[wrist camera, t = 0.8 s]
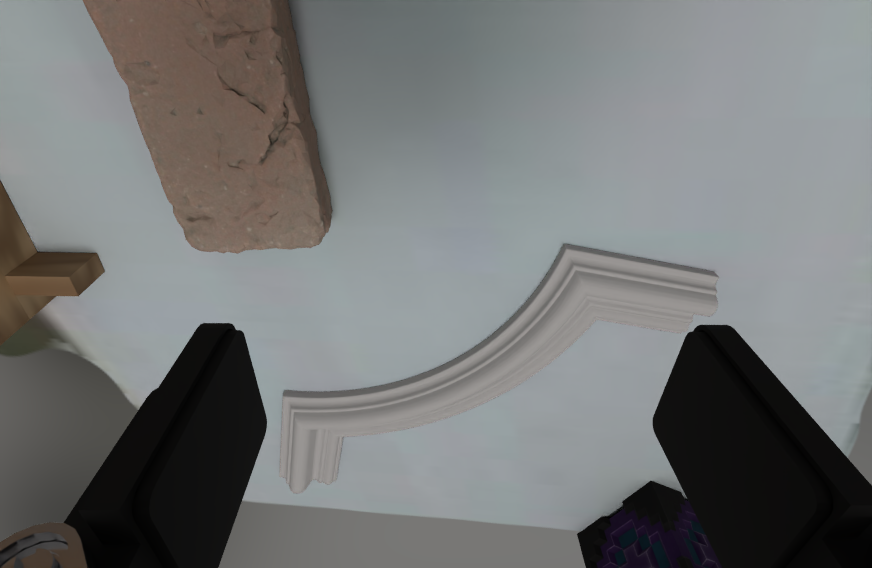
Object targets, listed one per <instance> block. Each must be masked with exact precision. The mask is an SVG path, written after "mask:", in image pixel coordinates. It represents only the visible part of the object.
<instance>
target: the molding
mask: <svg viewBox="0 0 872 568" xmlns="http://www.w3.org/2000/svg"><path fill="white" fill-rule="evenodd" d="M718 279H719V276H718V275H717V274H716V273H715V272H713V271H707V270H702V269H697V268H692V267H686V266H681V265H676V264H670V263H665V262H660V261H654V260H649V259H644V258H638V257H633V256H627V255H622V254H617V253H611V252H606V251H601V250H595V249H590V248H585V247H579V246H574V245H569V244H563V246H562V248H561V250H560V252H559V254H558V256H557V258H556V260H555V261H554V263H553V265H552V266H551V268H550V270H549V271H548V273H547V274H546V276H545V278H544V279H543V281H542V282H541V283H540V285H539V286H538V287H537V289H536V290H535V291H534V293H533V294H532V295H531V296H530V298H529V299H528V300H527V301H526V302H525V304H524V305H523V306H522V307H521V308H520V309H519V310H518V311H517V312H516V313H515V314H514V315H513V316H512V317H511V318H510V319H509V320H508V321H507V322H506V323H505V324H504V325H503V326H501V327H500V328H499V329H498V330H497V331H495V332H494V333H493V334H492V335H491V336H489V337H488V338H487V339H485V340H484V341H482V342H481V343H480V344H478V345H477V346H475V347H474V348H472V349H471V350H469V351H467V352H466V353H464V354H463V355H461V356H459V357H457V358H455V359H454V360H452V361H450V362H448V363H446V364H444V365H441V366H439V367H437V368H435V369H432V370H430V371H428V372H425V373H423V374H420V375H417V376H414V377H411V378H408V379H405V380H401V381H397V382H394V383H390V384H386V385H381V386H375V387H370V388H364V389H356V390H347V391H330V392H307V391H291V390H285V391H284V394H283V405H282V428H281V452H280V475H279V477H283V478H285V479H286V481H287V482H286V483H287V484H289V487H290V490H291V491H292V492H293V493H296V494H299V493H302V492H304V491H305V490H306V488H307V487H308V485H309V484H310V482H311V481H312V480H317V481H318V482H319V483H322V482H323V483H325V484H327V485H329V484H331V483H332V482H333V481H336V480H337V474H338V468H339V461H340V455H341V449H342V442H343V437H351V436H364V435H373V434H380V433H387V432H393V431H399V430H404V429H409V428H413V427H417V426H421V425H425V424H429V423H433V422H436V421H439V420H442V419H446V418H448V417H451V416H454V415H457V414H460V413H462V412H465V411H467V410H470V409H472V408H475V407H477V406H479V405H481V404H484V403H486V402H488V401H490V400H492V399H494V398H496V397H498V396H500V395H502V394H503V393H505V392H507V391H509V390H511V389H512V388H514V387H516V386H517V385H519V384H521V383H522V382H524V381H525V380H527V379H529V378H530V377H532V376H533V375H535V374H536V373H537V372H539V371H540V370H542V369H543V368H544V367H546V366H547V365H548V364H550V363H551V362H552V361H553V360H555V359H556V358H557V357H558V356H559V355H561V354H562V353H563V352H564V351H565V350H567V349H568V348H569V347H570V346H571V345H572V344H573V343H574V342H575V341H576V340H577V339H578V338H579V337H580V336H581V335H582V334H583V333H584V332H585V331H586V330H587V329H588V328H589V327H590V326H591V325H592V324H593V323H594V322H595V321H596V320H602V321H608V322H614V323H620V324H626V325H632V326H638V327H644V328H650V329H657V330H663V331H669V332H675V333H681V332H686V331H687V330H688V328H689V324H690V323H691V322H692V321H693V315H694V314H696V315H702V316H708V317H710V316H712V315H713V314H714V313H715V312H716V310H717V308H718V301H717V297H716V294H717V290H716V286H715V285H716V282H717V281H718Z"/></svg>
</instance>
